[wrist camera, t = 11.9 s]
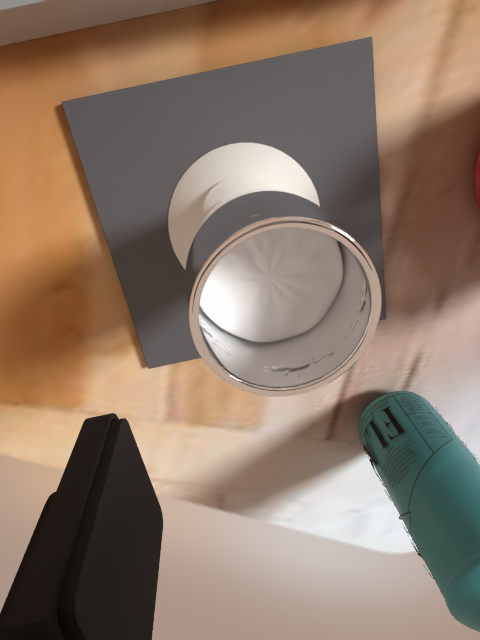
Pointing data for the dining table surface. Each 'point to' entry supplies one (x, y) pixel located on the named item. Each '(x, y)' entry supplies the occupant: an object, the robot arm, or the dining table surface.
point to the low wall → (73, 15)
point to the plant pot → (478, 179)
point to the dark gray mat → (225, 166)
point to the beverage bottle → (430, 492)
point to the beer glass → (277, 290)
